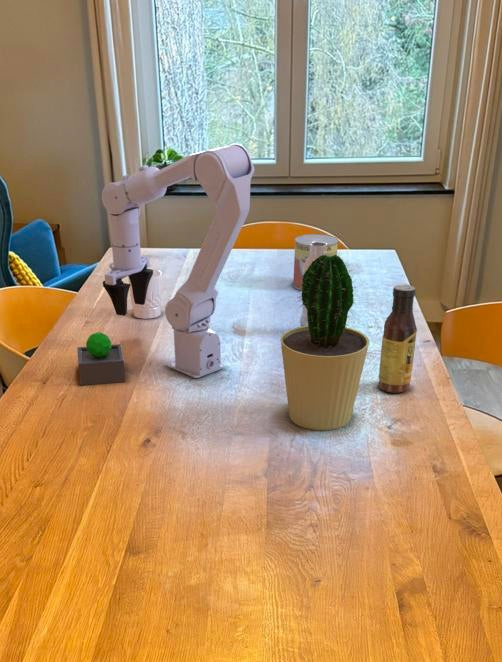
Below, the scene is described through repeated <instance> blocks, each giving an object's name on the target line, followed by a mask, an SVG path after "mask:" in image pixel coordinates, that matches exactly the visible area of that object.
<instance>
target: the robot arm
mask: <svg viewBox="0 0 502 662" xmlns="http://www.w3.org/2000/svg"><path fill="white" fill-rule="evenodd" d="M250 155H251V154H250V153H249V151H248V149H246V147H244V146H243V145H242V144H240V143H231V144H229V145H227V146H221V147H217V148H213V149H212V148H211V149H207V150H203V151H199V152H195V153H191V154H188V155H186V156H185V157H182V158H180V159H178V160H176V161H174V162H173V163H171V164H168V165H167V166H165V167H163V168H161V169H159V168H158V167H156V166H154V165H153V166H149V165H148V164H146V165H142V166H140V167H138V172H135V173H133V174H131V175H130V174H125V175H123V176H122V177H121V180H119V181H116V182H108V183H107V184H106V185H105V186H104V187H103V189H102V191H101V201H102V205H103V207H104V209H105V210H106V211H107V212H108V214H109V215H108V216H109V227H110V240H111V249H112V263H111V262H110V264H109V270H108V272H107V273H105V274H104V280H103V281H102V287H103V289H104V290H105V291H106V292H107V294H108V297H109V298H110V301H111V303H112V305H113V308H114V311H115V314H116V316H123V317H126V316H127V314H128V295H129V292H130V285H132V291H133V297H134V302H135V304H141V305H144V304H145V300H146V294H147V289H148V285H149V282H150V279H151V277H152V275H153V270H152V269H153V268H150V267H151V266H150V265H151V263H150V257H149V256H142V253H141V237H140V224H139V223H140V221H139V218H140V216H141V207H142V206H144V205H146V204H149V203H151V202H154V201H155V200H158V199H160V198H162V197H164V196H165V195H166V192H167V189H168V187H170V186H173V185H175V184H177V183H181V182H183V181H186V180H187V179H190V178H191V181H193V182H199V185H200V186H201V188H202V189H203V191H204V192H205V194H206V195H207V197H208V199H209V200H210V201H211V203H212V205H213V206H214V207H215V208H216V211H215V214H214V216H213V219H212V221H211V224H210V226H209V229H208V231H207V233H206V236H205V238H204V240H203V242H202V245H201V247H200V249H199V252H198V255H197V257H196V259H195V261H194V264H193V266H192V268H191V270H190V273H189V275H188V278H187V279H186V281H185V282H184V283H183V284H182V285H181V286H180V287H179V288H178V289H177V290H176V293H175V295H174V296H173V298H171V299H170V300H168V301H167V303H166V305H165V308H164V311H165V312H164V314H165V318H166V320H167V322H168V324H169V325H170V326H171V329H172V330H173V342H174V343H173V344H174V345H173V346H174V360H173V361H170V362H168V363H166V367H168V368H169V369H173V370H174V371H177V372H180V373H181V374H184V375H186V376H188V377H191V378H194V379H199V378H201V377H205V376H208V375H209V374H212V373H215V372H217V371H220V370H222V369H224V365H222V364H221V363H222V362H221V340H220V337H219V335H218V334H217V333H216V332H214V331H213V330H212V329H211V327H210V323H211V317H212V316H213V315H214V313H215V311H216V305H217V303H216V301H217V297H218V295H219V291H218V289H217V288H216V285H217V283H218V281H219V278H220V276H221V274H222V272H223V270H224V267H225V265H226V263H227V261H228V259H229V256H230V255H231V252H232V250H233V247H234V245H235V244H236V241H237V239H238V237H239V234H240V232H241V231H242V228H243V225H244V224H245V221H246V219H247V217H248V215H249V213H250V209H251V180H252V178H253V176H254V173H255V167H254V163H253V161H252V158H251V156H250ZM128 276H129V277H128ZM127 277H128V280H129V279H130V282H131V284H129V283H125V282H124V281H123V279H125V278H127Z"/></svg>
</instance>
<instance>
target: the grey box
mask: <svg viewBox="0 0 502 662" xmlns="http://www.w3.org/2000/svg"><path fill="white" fill-rule="evenodd" d="M111 345H112V347H111V350H110V352H109V354H108V355H106V356H105V357H102V358H97V357H94V356H92V355H91V354H90V353H89V352H88V350H87V347H86V346H78V347H77V348H76V350H77V366H78V374H79V375H78V376H79V383H80V386H89V385H100V384H102V385H103V384H115V383H126V381H127V380H126V370H125V369H126V367H125V359H124V353H123V347H122V344H121V343H119V344H111Z"/></svg>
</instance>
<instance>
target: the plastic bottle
mask: <svg viewBox="0 0 502 662" xmlns="http://www.w3.org/2000/svg"><path fill="white" fill-rule="evenodd" d="M309 252H310V253H311V255H310V256H309V258H308V259H307V260H306V262H305V263H304V266H303V269H304V270H305V271H306V270H307V269H308V267H309V266H310V264H311V263H312V260H313V261H315V260H316V259H317V258H319V256H320V255H321V256H322V255H325V254H326V253H327V244H326V243H324V242H313V243H311V244H310V251H309ZM317 256H318V257H317ZM314 257H315V259H314ZM309 262H310V263H309ZM308 265H309V266H308ZM307 266H308V267H307ZM304 270H303V273H305V271H304ZM303 275H304V274H303ZM304 310H305V311H304ZM306 310H307V309H306V307H305V305H303V306H302V310H301V311H302V312H301V314H300V319H299V324H300V327H302V326H308V320H307V319H308V316H307V311H306ZM305 312H306V313H305ZM304 314H305V315H304ZM304 317H306V318H304ZM303 322H304V323H303Z"/></svg>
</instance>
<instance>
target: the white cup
mask: <svg viewBox="0 0 502 662" xmlns="http://www.w3.org/2000/svg"><path fill="white" fill-rule="evenodd" d="M151 269H152V270H153V275H152V277H151V279H150V282H149V285H148V289H147V294H146V300H145V304H144V305H141V304H135V302H134V297H133V291H132V285H130V288H129V294H130V300H131V306H132V314H133V316H134V317H135V318H137V319H141V320H149V319H157V318H158V317H160V316H161V315H162V291H163V289H162V284H163V283H162V271H160V270H158V269H154V268H151ZM127 277H128V284H131V282H130V279H129V276H127Z"/></svg>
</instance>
